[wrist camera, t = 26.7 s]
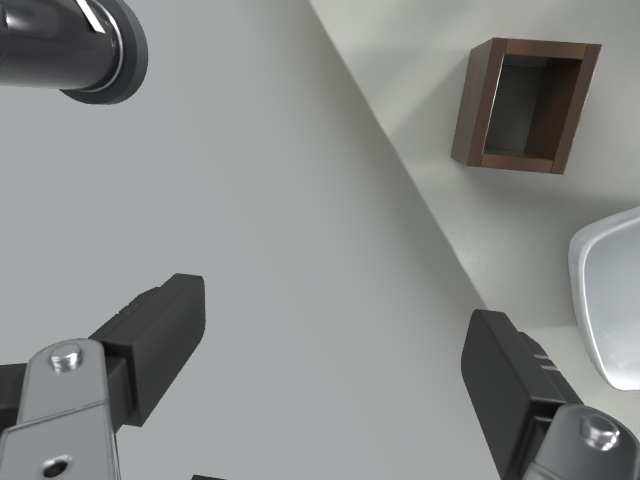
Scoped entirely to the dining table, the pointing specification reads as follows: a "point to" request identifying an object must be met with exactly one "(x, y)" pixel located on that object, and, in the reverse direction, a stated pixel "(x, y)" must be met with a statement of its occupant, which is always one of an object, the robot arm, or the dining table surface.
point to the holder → (550, 110)
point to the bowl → (609, 295)
